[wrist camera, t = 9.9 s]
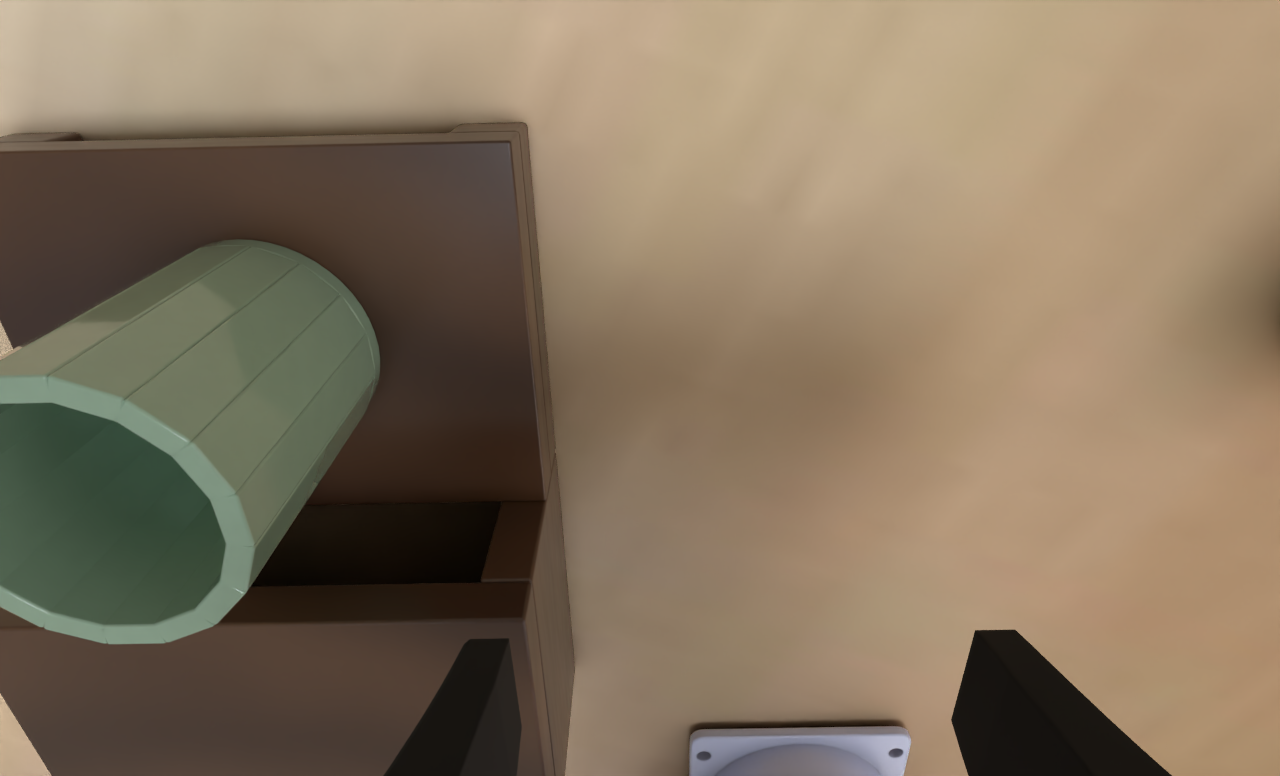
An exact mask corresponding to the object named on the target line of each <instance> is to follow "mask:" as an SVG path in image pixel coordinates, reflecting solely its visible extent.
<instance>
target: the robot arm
mask: <svg viewBox="0 0 1280 776" xmlns="http://www.w3.org/2000/svg"><path fill="white" fill-rule="evenodd" d="M951 720H952V724H953V727H954V730H955V734H956V737H957V740H958V744H959V747H960V750H961V754H962V757H963V760H964V763H965V766H966V769H967V772H968V775H969V776H1172V775H1170V774H1169V773H1168V772H1167V771H1166V770H1165V769H1164V768H1162V767H1161V766H1160V765H1159V764H1158V763H1157V762H1156V761H1154V760H1153V759H1152V758H1151V757H1150V756H1149V755H1148V754H1147V753H1146V752H1144V751H1143V750H1142V749H1141V748H1140V747H1139V746H1138V745H1137V744H1136V743H1135V742H1133V741H1132V740H1131V739H1130V738H1129V737H1128V736H1127V735H1126V734H1125V733H1124V732H1122V731H1121V730H1120V729H1119V728H1118V727H1117V726H1116V725H1115V724H1114V723H1113V722H1112V721H1111V720H1110V719H1108V718H1107V717H1106V716H1105V715H1104V714H1103V713H1102V712H1101V711H1100V710H1099V709H1098V708H1097V707H1096V706H1095V705H1094V704H1092V703H1091V702H1090V701H1089V700H1088V699H1087V698H1086V697H1085V696H1084V695H1083V694H1082V693H1081V692H1080V691H1079V690H1078V689H1077V688H1076V687H1075V686H1073V685H1072V684H1071V683H1070V682H1069V681H1068V680H1067V679H1066V678H1065V677H1064V676H1063V675H1062V674H1061V673H1060V672H1059V671H1058V670H1057V669H1056V668H1055V667H1054V666H1053V665H1052V664H1051V663H1050V662H1049V661H1047V660H1046V659H1045V658H1044V657H1043V656H1042V655H1041V654H1040V653H1039V652H1038V651H1037V650H1036V649H1035V648H1034V647H1033V646H1032V645H1031V644H1030V643H1029V642H1028V641H1027V640H1025V639H1024V638H1023V637H1022V636H1021V635H1020V634H1019V633H1018V632H1017V631H1016V630H975V633H974V637H973V641H972V645H971V648H970V652H969V656H968V660H967V663H966V667H965V671H964V674H963V678H962V682H961V686H960V689H959V693H958V697H957V701H956V704H955V708H954V712H953V716H952V719H951ZM521 730H522V724H521V718H520V711H519V704H518V697H517V690H516V683H515V676H514V669H513V662H512V655H511V648H510V641H509V638H497V639H469V640H468V641H467V642H466V643H465V644H464V645H463V647H462V649H461V650H460V652H459V654H458V656H457V658H456V660H455V662H454V663H453V665H452V667H451V669H450V671H449V672H448V674H447V676H446V678H445V679H444V681H443V683H442V685H441V686H440V688H439V690H438V691H437V693H436V695H435V696H434V698H433V700H432V701H431V703H430V705H429V706H428V708H427V710H426V711H425V713H424V715H423V716H422V718H421V719H420V721H419V723H418V724H417V726H416V727H415V729H414V730H413V732H412V733H411V735H410V736H409V738H408V739H407V741H406V742H405V744H404V746H403V747H402V749H401V750H400V752H399V753H398V755H397V756H396V758H395V759H394V761H393V762H392V764H391V765H390V767H389V768H388V770H387V771H386V773H385V774H384V776H517V769H518V759H519V749H520V740H521ZM910 745H911V738H910V735H909V733H908V731H907V730H906V729H905V728H903V727H900V726H869V727H806V728H744V729H701V730H697V731H695V732H694V733H693V734H692V735H691V736H690V747H689V776H903V775H904V771H905V767H906V762H907V758H908V754H909V750H910Z"/></svg>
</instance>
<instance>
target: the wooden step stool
mask: <svg viewBox="0 0 1280 776" xmlns="http://www.w3.org/2000/svg"><path fill="white" fill-rule="evenodd" d="M235 239H242V240H256V241H262V242H268V243H272V244H276V245H279V246H283V247H286V248H288V249H291V250H293V251H296V252H298V253H301V254H302V255H304V256H306V257H308V258H310V259H312V260H313V261H315V262H317V263H318V264H320V265H321V266H323V267H324V268H326V269H327V270H328V271H330V272H331V273H332V274H333V275H334V276H336V277H337V278H338V279H339V280H340V281H341V282H342V283H343V284H344V285H345V286H346V287H347V288H348V289H349V290H350V291H351V292H352V293H353V295H354V296H355V297H356V299H357V300H358V302H359V303H360V304H361V306H362V307H363V309H364V311H365V312H366V314H367V316H368V318H369V320H370V322H371V324H372V327H373V329H374V331H375V335H376V339H377V342H378V346H379V354H380V374H379V380H378V385H377V388H376V391H375V394H374V396H373V398H372V400H371V401H370V403H369V405H368V408H367V410H366V412H365V414H364V415H363V417H362V419H361V420H360V422H359V423H358V425H357V426H356V428H355V429H354V431H353V432H352V434H351V435H350V437H349V438H348V440H347V441H346V443H345V444H344V446H343V447H342V449H341V450H340V452H339V453H338V455H337V456H336V458H335V459H334V461H333V462H332V464H331V466H330V467H329V469H328V470H327V472H326V473H325V475H324V476H323V478H322V479H321V481H320V482H319V484H318V485H317V487H316V488H315V490H314V491H313V493H312V494H311V496H310V497H309V499H308V500H307V502H306V503H305V505H332V504H387V503H442V502H497V501H502V503H501V506H500V510H499V514H498V517H497V521H496V525H495V528H494V532H493V536H492V540H491V543H490V547H489V551H488V554H487V558H486V562H485V565H484V569H483V573H482V576H481V580H480V583H429V584H371V585H314V586H256V587H250V588H249V590H248V591H247V593H246V594H245V595H244V596H243V597H242V598H241V599H240V600H239V602H238V603H237V604H236V605H235V606H234V607H233V608H232V609H231V610H230V611H229V612H228V613H227V614H226V615H225V616H224V617H223V619H222V620H221V621H220V622H219V623H217V624H216V625H214V626H213V627H210V628H208V629H205V630H202V631H199V632H197V633H194V634H191V635H188V636H186V637H183V638H180V639H177V640H175V641H172V642H169V643H167V642H166V643H164V644H112V645H110V644H108V643H106V644H103V643H98V642H94V641H90V640H86V639H82V638H78V637H74V636H70V635H66V634H62V633H58V632H54V631H50V630H46V629H44V627H43V628H42V627H39V626H37V625H35V624H33V623H31V622H29V621H27V620H25V619H23V618H21V617H19V616H17V615H15V614H13V613H11V612H9V611H7V610H5V609H3V608H1V607H0V694H1V695H2V697H3V698H4V700H5V702H6V703H7V705H8V706H9V708H10V710H11V711H12V713H13V714H14V716H15V718H16V719H17V721H18V722H19V724H20V726H21V727H22V729H23V730H24V732H25V734H26V735H27V737H28V738H29V740H30V741H31V743H32V745H33V746H34V748H35V749H36V751H37V753H38V754H39V756H40V757H41V759H42V761H43V762H44V764H45V765H46V767H47V769H48V770H49V772H50V773H51V775H52V776H384V774H385V773H386V771H387V770H388V768H389V767H390V765H391V764H392V762H393V761H394V759H395V758H396V756H397V755H398V753H399V752H400V750H401V749H402V747H403V746H404V744H405V742H406V741H407V739H408V738H409V736H410V735H411V733H412V732H413V730H414V729H415V727H416V726H417V724H418V723H419V721H420V719H421V718H422V716H423V715H424V713H425V711H426V710H427V708H428V706H429V705H430V703H431V701H432V700H433V698H434V696H435V695H436V693H437V691H438V690H439V688H440V686H441V685H442V683H443V681H444V679H445V678H446V676H447V674H448V672H449V671H450V669H451V667H452V665H453V663H454V662H455V660H456V658H457V656H458V654H459V652H460V650H461V649H462V647H463V645H464V644H465V643H466V642H467V641H468V640H469V639H497V638H509V641H510V648H511V655H512V662H513V669H514V676H515V683H516V690H517V697H518V704H519V711H520V718H521V724H522V730H521V740H520V749H519V759H518V769H517V776H565V768H566V757H567V747H568V736H569V725H570V715H571V704H572V693H573V683H574V672H575V664H574V653H573V641H572V630H571V619H570V607H569V596H568V584H567V573H566V562H565V550H564V539H563V528H562V516H561V505H560V494H559V482H558V471H557V460H556V453H555V437H554V426H553V415H552V403H551V392H550V381H549V369H548V358H547V346H546V335H545V324H544V312H543V301H542V290H541V278H540V267H539V256H538V244H537V233H536V222H535V210H534V199H533V188H532V176H531V165H530V154H529V142H528V131H527V126H526V124H524V123H490V124H461V125H459V126H457V127H456V128H455V129H453V130H452V131H450V132H449V133H423V134H377V135H331V136H285V137H238V138H192V139H146V140H100V141H83V140H82V138H81V136H80V134H78V133H30V134H11V135H7V136H2V137H0V321H1V324H2V326H3V328H4V330H5V332H6V334H7V336H8V339H9V341H10V343H11V345H12V347H13V349H14V348H16V347H18V346H20V345H22V344H23V343H25V342H27V341H29V340H31V339H32V338H34V337H36V336H38V335H40V334H41V333H43V332H45V331H47V330H48V329H50V328H52V327H54V326H56V325H57V324H59V323H61V322H63V321H65V320H66V319H68V318H70V317H72V316H73V315H75V314H77V313H79V312H81V311H82V310H84V309H86V308H88V307H90V306H91V305H93V304H95V303H97V302H99V301H100V300H102V299H104V298H106V297H107V296H109V295H111V294H113V293H115V292H116V291H118V290H120V289H122V288H124V287H125V286H127V285H129V284H131V283H132V282H134V281H136V280H138V279H140V278H141V277H143V276H145V275H147V274H149V273H150V272H152V271H154V270H156V269H157V268H159V267H161V266H163V265H165V264H167V263H169V262H171V261H173V260H175V259H177V258H179V257H181V256H183V255H185V254H187V253H188V252H190V251H192V250H194V249H196V248H198V247H201V246H203V245H206V244H209V243H214V242H218V241H223V240H235Z"/></svg>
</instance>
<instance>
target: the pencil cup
mask: <svg viewBox="0 0 1280 776" xmlns="http://www.w3.org/2000/svg"><path fill="white" fill-rule="evenodd" d="M379 374H380V354H379V346H378V342H377V339H376V335H375V331H374V329H373V327H372V324H371V322H370V320H369V318H368V316H367V314H366V312H365V311H364V309H363V307H362V306H361V304H360V303H359V302H358V300H357V299H356V297H355V296H354V295H353V293H352V292H351V291H350V290H349V289H348V288H347V287H346V286H345V285H344V284H343V283H342V282H341V281H340V280H339V279H338V278H337V277H336V276H334V275H333V274H332V273H331V272H330V271H328V270H327V269H326V268H324V267H323V266H321V265H320V264H318V263H317V262H315V261H313V260H312V259H310V258H308V257H306V256H304V255H302V254H301V253H298V252H296V251H293V250H291V249H288V248H286V247H283V246H279V245H276V244H272V243H268V242H262V241H256V240H242V239H235V240H223V241H218V242H214V243H209V244H206V245H203V246H201V247H198V248H196V249H194V250H192V251H190V252H188V253H187V254H185V255H183V256H181V257H179V258H177V259H175V260H173V261H171V262H169V263H167V264H165V265H163V266H161V267H159V268H157V269H156V270H154V271H152V272H150V273H149V274H147V275H145V276H143V277H141V278H140V279H138V280H136V281H134V282H132V283H131V284H129V285H127V286H125V287H124V288H122V289H120V290H118V291H116V292H115V293H113V294H111V295H109V296H107V297H106V298H104V299H102V300H100V301H99V302H97V303H95V304H93V305H91V306H90V307H88V308H86V309H84V310H82V311H81V312H79V313H77V314H75V315H73V316H72V317H70V318H68V319H66V320H65V321H63V322H61V323H59V324H57V325H56V326H54V327H52V328H50V329H48V330H47V331H45V332H43V333H41V334H40V335H38V336H36V337H34V338H32V339H31V340H29V341H27V342H25V343H23V344H22V345H20V346H18V347H16V348H14V349H13V350H11V351H9V352H7V353H6V354H4V355H2V356H0V607H1V608H3V609H5V610H7V611H9V612H11V613H13V614H15V615H17V616H19V617H21V618H23V619H25V620H27V621H29V622H31V623H33V624H35V625H37V626H39V627H42V628H43V627H44V629H46V630H50V631H54V632H58V633H62V634H66V635H70V636H74V637H78V638H82V639H86V640H90V641H94V642H98V643H103V644H106V643H108V644H110V645H112V644H164V643H166V642H167V643H169V642H172V641H175V640H177V639H180V638H183V637H186V636H188V635H191V634H194V633H197V632H199V631H202V630H205V629H208V628H210V627H213V626H214V625H216V624H217V623H219V622H220V621H221V620H222V619H223V617H224V616H225V615H226V614H227V613H228V612H229V611H230V610H231V609H232V608H233V607H234V606H235V605H236V604H237V603H238V602H239V600H240V599H241V598H242V597H243V596H244V595H245V594H246V593H247V591H248V590H249V588H250V587H251V585H252V584H253V582H254V581H255V579H256V578H257V576H258V575H259V573H260V572H261V570H262V569H263V567H264V566H265V564H266V563H267V561H268V560H269V558H270V556H271V555H272V553H273V552H274V550H275V549H276V547H277V546H278V544H279V543H280V541H281V540H282V538H283V537H284V535H285V534H286V532H287V531H288V529H289V528H290V526H291V525H292V523H293V522H294V520H295V519H296V517H297V516H298V514H299V513H300V511H301V509H302V508H303V506H304V505H305V503H306V502H307V500H308V499H309V497H310V496H311V494H312V493H313V491H314V490H315V488H316V487H317V485H318V484H319V482H320V481H321V479H322V478H323V476H324V475H325V473H326V472H327V470H328V469H329V467H330V466H331V464H332V462H333V461H334V459H335V458H336V456H337V455H338V453H339V452H340V450H341V449H342V447H343V446H344V444H345V443H346V441H347V440H348V438H349V437H350V435H351V434H352V432H353V431H354V429H355V428H356V426H357V425H358V423H359V422H360V420H361V419H362V417H363V415H364V414H365V412H366V410H367V408H368V405H369V403H370V401H371V400H372V398H373V396H374V394H375V391H376V388H377V385H378V380H379Z"/></svg>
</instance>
